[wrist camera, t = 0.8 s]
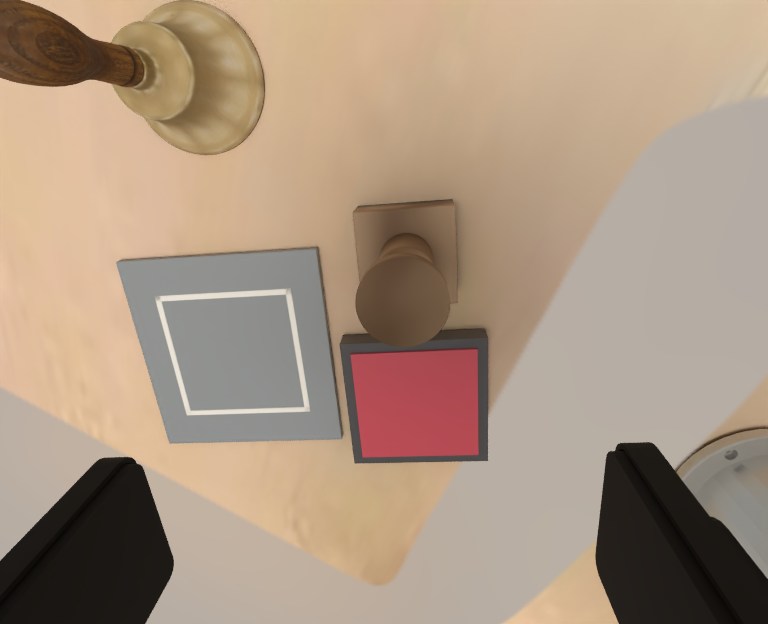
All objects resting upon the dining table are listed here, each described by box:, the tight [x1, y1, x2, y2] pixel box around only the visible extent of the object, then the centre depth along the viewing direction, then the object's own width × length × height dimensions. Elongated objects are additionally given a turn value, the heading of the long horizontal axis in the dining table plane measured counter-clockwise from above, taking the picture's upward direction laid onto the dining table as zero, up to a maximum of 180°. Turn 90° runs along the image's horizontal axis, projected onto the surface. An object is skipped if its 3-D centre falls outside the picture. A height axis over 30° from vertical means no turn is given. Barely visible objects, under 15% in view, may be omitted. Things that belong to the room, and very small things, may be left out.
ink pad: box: [340, 329, 488, 463], centre depth 33 cm, size 10×10×2 cm
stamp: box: [353, 199, 458, 347], centre depth 25 cm, size 6×6×11 cm
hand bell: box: [0, 0, 264, 155], centre depth 20 cm, size 8×8×16 cm
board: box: [116, 247, 343, 443], centre depth 34 cm, size 14×15×1 cm
